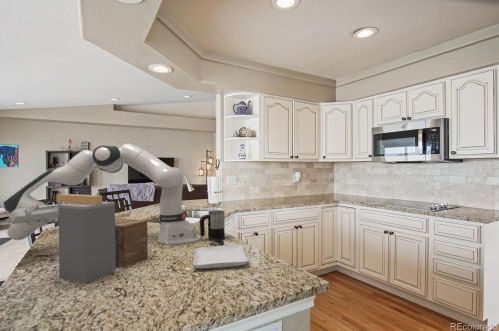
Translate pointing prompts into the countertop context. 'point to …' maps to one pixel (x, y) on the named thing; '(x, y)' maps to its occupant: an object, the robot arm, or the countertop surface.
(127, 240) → the wooden grain cube
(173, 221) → the robot arm
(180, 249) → the countertop surface
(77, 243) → the graphite cabinet
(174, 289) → the countertop surface
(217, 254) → the salad plate
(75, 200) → the orange bar
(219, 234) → the milk frother
